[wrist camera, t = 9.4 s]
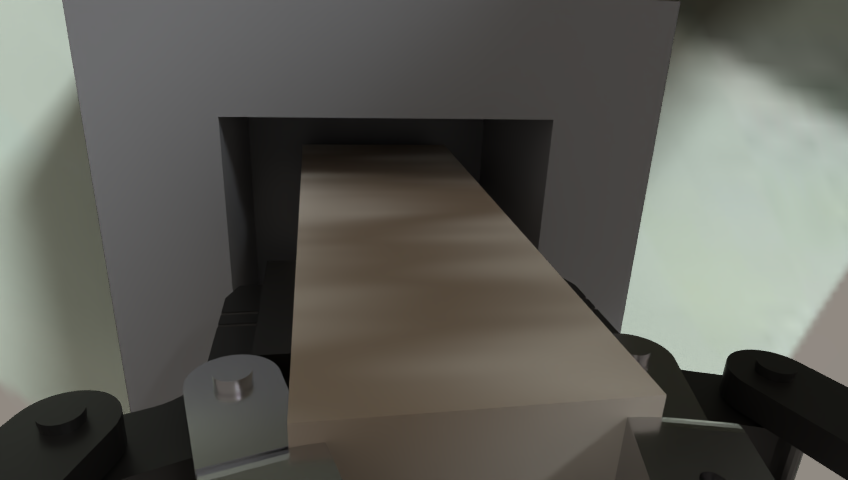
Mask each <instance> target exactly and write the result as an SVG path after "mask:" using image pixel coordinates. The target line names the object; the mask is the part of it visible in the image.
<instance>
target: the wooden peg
mask: <svg viewBox="0 0 848 480" xmlns="http://www.w3.org/2000/svg"><path fill="white" fill-rule="evenodd" d="M666 396H667V395H666V393H665V392H664V391H663V390H662V389H661V388H660V387H659V386H658V384H657V383H656V382H655V381H654V380H653V379H652V378H651V377H650V375H649V374H648V373H647V372H646V371H645V370H644V369H643V368H642V367H641V365H640V364H639V363H638V362H637V361H636V360H635V359H634V358H633V356H632V355H631V354H630V353H629V352H628V351H627V350H626V349H625V347H624V346H623V345H622V344H621V343H620V342H619V341H618V340H617V338H616V337H615V336H614V335H613V334H612V333H611V332H610V331H609V329H608V328H607V327H606V326H605V325H604V324H603V323H602V322H601V320H600V319H599V318H598V317H597V316H596V315H595V314H594V313H593V312H592V310H591V309H590V308H589V307H588V306H587V305H586V304H585V303H584V301H583V300H582V299H581V298H580V297H579V296H578V295H577V294H576V292H575V291H574V290H573V289H572V288H571V287H570V286H569V285H568V283H567V282H566V281H565V280H564V279H563V278H562V277H561V276H560V274H559V273H558V272H557V271H556V270H555V269H554V268H553V267H552V265H551V264H550V263H549V262H548V261H547V260H546V259H545V258H544V256H543V255H542V254H541V253H540V252H539V251H538V250H537V249H536V248H535V246H534V245H533V244H532V243H531V242H530V241H529V240H528V239H527V237H526V236H525V235H524V234H523V233H522V232H521V231H520V230H519V228H518V227H517V226H516V225H515V224H514V223H513V222H512V221H511V219H510V218H509V217H508V216H507V215H506V214H505V213H504V212H503V210H502V209H501V208H500V207H499V206H498V205H497V204H496V203H495V201H494V200H493V199H492V198H491V197H490V196H489V195H488V194H487V193H486V191H485V190H484V189H483V188H482V187H481V186H480V185H479V184H478V182H477V181H476V180H475V179H474V178H473V177H472V176H471V175H470V173H469V172H468V171H467V170H466V169H465V168H464V167H463V166H462V164H461V163H460V162H459V161H458V160H457V159H456V158H455V157H454V155H453V154H452V153H451V152H450V151H449V150H448V149H447V148H446V146H445V145H303V149H302V167H301V185H300V202H299V220H298V238H297V256H296V274H295V292H294V310H293V328H292V346H291V364H290V382H289V400H288V417H287V430H288V448H290V447H295V446H301V445H307V444H314V443H322V442H325V443H326V445H327V447H328V449H329V451H330V453H331V455H332V458H333V460H334V462H335V464H336V466H337V469H338V471H339V473H340V475H341V478H342V480H615V477H616V472H617V467H618V462H619V457H620V452H621V447H622V442H623V437H624V432H625V427H626V422H627V417H662V414H663V410H664V405H665V401H666Z"/></svg>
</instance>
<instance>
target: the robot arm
mask: <svg viewBox="0 0 848 480" xmlns="http://www.w3.org/2000/svg"><path fill="white" fill-rule="evenodd" d="M295 274H296V260H273V261H267V264H266V270H265V276H264V282H263V285H240V286H239V287H238V288H236V289H235V290H234V291H233V292H232V293H231V294H230V295H228V296H227V297H226V298H225V301H224V305H223V308H222V312H221V315H220V319H219V322H218V327H217V330H216V333H215V337H214V340H213V344H212V347H211V351H210V354H209V358H208V362H206V363H204V364H202V365H200V366H199V367H197V368H196V369H194V370H193V371H192V372H191V373H190V374H189V375H188V376H187V378H186V379H185V381H184V384H183V395H182V396H180V397H178V398H176V399H174V400H172V401H169V402H167V403H164V404H161V405H158V406H155V407H151V408H147V409H143V410H140V411H136V412H132V413H128V414H124V415H123V412H122V406H121V404H120V402H119V401H118V400H117V398H115V397H114V396H112V395H110V394H108V393H105V392H100V391H91V390H84V391H73V392H67V393H62V394H58V395H55V396H51V397H48V398H46V399H43V400H41V401H38V402H36V403H34V404H32V405H30V406H28V407H27V408H25V409H23V410H22V411H20V412H19V413H18V414H16V415H15V416H14V417H12V418H11V419H10V420H9V421H7V422H6V423H5V424H4V425H2V426H1V427H0V480H342V478H341V475H340V473H339V471H338V469H337V466H336V464H335V462H334V460H333V458H332V455H331V453H330V451H329V449H328V447H327V445H326V443H325V442H322V443H314V444H307V445H301V446H295V447H290V448H288V430H287V417H288V400H289V382H290V364H291V346H292V328H293V310H294V292H295ZM563 279H564V278H563ZM564 280H565V281H566V282H567V283H568V285H569V286H570V287H571V288H572V289H573V290H574V291H575V292H576V294H577V295H578V296H579V297H580V298H581V299H582V300H583V301H584V303H585V304H586V305H587V306H588V307H589V308H590V309H591V310H592V312H593V313H594V314H595V315H596V316H597V317H598V318H599V319H600V320H601V322H602V323H603V324H604V325H605V326H606V327H607V328H608V329H609V331H610V332H611V333H612V334H613V335H614V336H615V337H616V338H617V340H618V341H619V342H620V343H621V344H622V345H623V346H624V347H625V349H626V350H627V351H628V352H629V353H630V354H631V355H632V356H633V358H634V359H635V360H636V361H637V362H638V363H639V364H640V365H641V367H642V368H643V369H644V370H645V371H646V372H647V373H648V374H649V375H650V377H651V378H652V379H653V380H654V381H655V382H656V383H657V384H658V386H659V387H660V388H661V389H662V390H663V391H664V392H665V393H666V395H667V396H666V401H665V405H664V410H663V414H662V417H627V422H626V427H625V432H624V437H623V442H622V447H621V452H620V457H619V462H618V467H617V472H616V477H615V480H794V479H795V476H796V473H797V470H798V468H799V465H800V462H801V458H802V456H803V453H805V454H806V455H808V456H810V457H811V458H813V459H814V460H816V461H818V462H819V463H821V464H822V465H824V466H826V467H827V468H829V469H830V470H832V471H833V472H835V473H836V474H838V475H840V476H841V477H843V478H845V479H846V480H848V387H846V386H844V385H842V384H840V383H838V382H836V381H834V380H832V379H831V378H829V377H826V376H825V375H823V374H821V373H819V372H817V371H815V370H813V369H811V368H809V367H807V366H805V365H803V364H801V363H799V362H797V361H795V360H793V359H790V358H788V357H785V356H782V355H779V354H776V353H772V352H767V351H761V350H740V351H736V352H734V353H732V354H730V355H729V356H728V358H727V361H726V364H725V368H724V372H723V375H716V374H708V373H701V372H693V371H686V370H681V369H680V368H679V366H678V364H677V362H676V360H675V358H674V357H673V355H672V354H671V353H670V352H669V351H668V350H666V349H665V348H664V347H662V346H661V345H659V344H657V343H655V342H653V341H651V340H648V339H645V338H642V337H639V336H634V335H629V334H620V333H619V332H618V331H617V330H616V329H615V328H614V327H613V326H612V325H611V324H610V322H609V321H608V320H607V319H606V318H605V317H604V316H603V315H602V314H601V313H600V311H599V310H598V309H595V306H594V305H593V304H592V303H591V302H590V300H589V299H586V296H585V295H584V294H583V293H582V292H581V291H580V289H579V288H578V287H577V286H576V285H575V284H573V283H571V282H570V281H568V280H566V279H564Z"/></svg>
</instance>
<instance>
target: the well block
mask: <svg viewBox="0 0 848 480" xmlns="http://www.w3.org/2000/svg"><path fill="white" fill-rule="evenodd" d="M62 2H63V8H64V14H65V20H66V26H67V32H68V38H69V44H70V50H71V56H72V62H73V68H74V74H75V80H76V86H77V92H78V98H79V104H80V110H81V116H82V122H83V129H84V135H85V141H86V147H87V153H88V159H89V165H90V171H91V177H92V183H93V189H94V195H95V201H96V207H97V213H98V219H99V225H100V231H101V237H102V243H103V249H104V255H105V261H106V267H107V273H108V279H109V285H110V291H111V297H112V303H113V309H114V315H115V321H116V327H117V333H118V339H119V345H120V351H121V357H122V363H123V369H124V375H125V381H126V387H127V393H128V399H129V405H130V412H131V413H132V412H136V411H140V410H143V409H147V408H151V407H155V406H158V405H161V404H164V403H167V402H169V401H172V400H174V399H176V398H178V397H180V396H182V395H183V384H184V381H185V379H186V378H187V376H188V375H189V374H190V373H191V372H192V371H193V370H194V369H196V368H197V367H199V366H200V365H202V364H204V363H206V362H208V358H209V354H210V351H211V347H212V344H213V340H214V337H215V333H216V330H217V327H218V322H219V319H220V315H221V312H222V308H223V305H224V301H225V298H226V297H227V296H228V295H230V294H231V293H232V292H233V291H234V290H235V289H236V288H238V287H239V286H240V285H263V282H264V276H265V270H266V264H267V261H273V260H296V256H297V238H298V220H299V202H300V185H301V167H302V149H303V145H445V146H446V148H447V149H448V150H449V151H450V152H451V153H452V154H453V155H454V157H455V158H456V159H457V160H458V161H459V162H460V163H461V164H462V166H463V167H464V168H465V169H466V170H467V171H468V172H469V173H470V175H471V176H472V177H473V178H474V179H475V180H476V181H477V182H478V184H479V185H480V186H481V187H482V188H483V189H484V190H485V191H486V193H487V194H488V195H489V196H490V197H491V198H492V199H493V200H494V201H495V203H496V204H497V205H498V206H499V207H500V208H501V209H502V210H503V212H504V213H505V214H506V215H507V216H508V217H509V218H510V219H511V221H512V222H513V223H514V224H515V225H516V226H517V227H518V228H519V230H520V231H521V232H522V233H523V234H524V235H525V236H526V237H527V239H528V240H529V241H530V242H531V243H532V244H533V245H534V246H535V248H536V249H537V250H538V251H539V252H540V253H541V254H542V255H543V256H544V258H545V259H546V260H547V261H548V262H549V263H550V264H551V265H552V267H553V268H554V269H555V270H556V271H557V272H558V273H559V274H560V276H561V277H562V278H564V279H566V280H568V281H570V282H571V283H573V284H575V285H576V286H577V287H578V288H579V289H580V291H581V292H582V293H583V294H584V295H585V296H586V299H589V300H590V302H591V303H592V304H593V305H594V306H595V309H598V310H599V311H600V313H601V314H602V315H603V316H604V317H605V318H606V319H607V320H608V321H609V322H610V324H611V325H612V326H613V327H614V328H615V329H616V330H617V331H618V332H619V333H620V332H621V326H622V321H623V315H624V310H625V304H626V299H627V293H628V288H629V282H630V277H631V271H632V266H633V260H634V255H635V249H636V244H637V238H638V233H639V227H640V222H641V216H642V211H643V205H644V200H645V194H646V189H647V183H648V178H649V172H650V167H651V161H652V156H653V150H654V145H655V139H656V134H657V128H658V123H659V117H660V112H661V106H662V101H663V95H664V90H665V84H666V79H667V73H668V68H669V62H670V57H671V51H672V46H673V40H674V35H675V30H676V24H677V19H678V13H679V8H680V2H681V1H661V0H62Z"/></svg>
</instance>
